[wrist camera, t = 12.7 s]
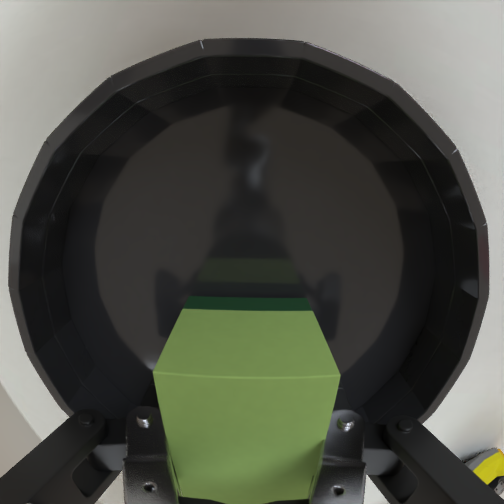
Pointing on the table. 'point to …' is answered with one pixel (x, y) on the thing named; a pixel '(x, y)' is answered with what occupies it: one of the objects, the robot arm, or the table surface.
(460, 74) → the table surface
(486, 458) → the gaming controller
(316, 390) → the sponge
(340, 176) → the pan
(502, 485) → the camera
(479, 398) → the table surface
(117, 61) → the table surface
